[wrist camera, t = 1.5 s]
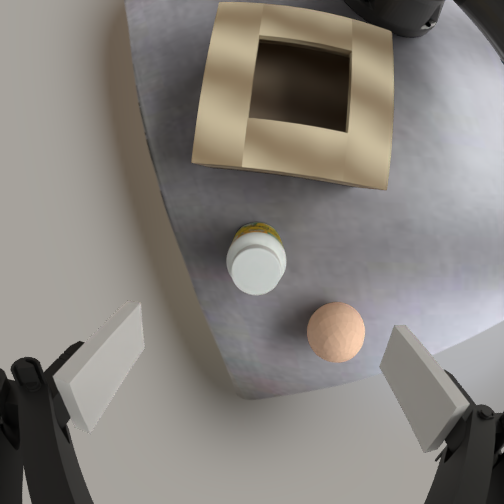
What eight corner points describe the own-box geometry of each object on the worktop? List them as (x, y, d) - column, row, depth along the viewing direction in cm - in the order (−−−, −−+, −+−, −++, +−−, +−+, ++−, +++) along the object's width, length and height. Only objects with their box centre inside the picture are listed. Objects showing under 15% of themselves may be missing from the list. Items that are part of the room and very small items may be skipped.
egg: (292, 314, 33) (300, 351, 26) (336, 282, 32) (356, 311, 24) (321, 347, 34) (333, 386, 27) (362, 318, 33) (384, 351, 25)
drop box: (229, 41, 25) (219, 2, 17) (363, 62, 25) (391, 31, 17) (211, 167, 29) (191, 162, 21) (354, 187, 29) (386, 190, 21)
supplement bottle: (226, 256, 32) (211, 287, 22) (244, 213, 30) (237, 227, 21) (269, 274, 32) (271, 312, 23) (289, 233, 31) (300, 255, 21)
